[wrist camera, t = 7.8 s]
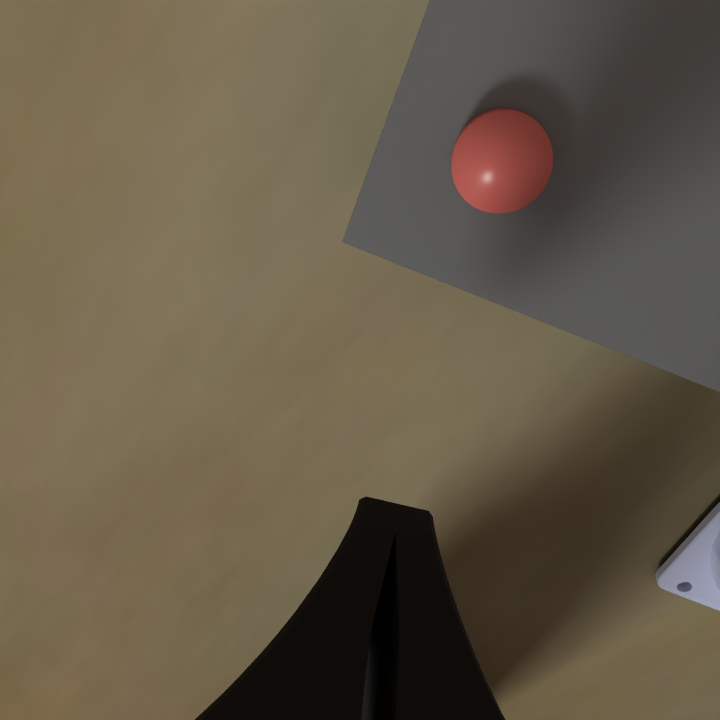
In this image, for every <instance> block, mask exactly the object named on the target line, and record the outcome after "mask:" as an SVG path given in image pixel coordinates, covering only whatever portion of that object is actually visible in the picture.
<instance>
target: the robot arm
mask: <svg viewBox="0 0 720 720" xmlns="http://www.w3.org/2000/svg"><path fill="white" fill-rule="evenodd" d="M655 577H656V581H657V584H658V585H659V587H660V588H662V589H664V590H666V591H669V592H671V593H674V594H677V595H679V596H682V597H685V598H687V599H690V600H692V601H695V602H698V603H700V604H703V605H706V606H708V607H711V608H714V609H716V610H719V611H720V502H719V503H718V504H717V505H716V506H715V507H714V508H713V510H712V511H711V512H710V513H709V514H708V515H707V516H706V517H705V518H704V520H703V521H702V522H701V523H700V524H699V525H698V526H697V527H696V528H695V529H694V531H693V532H692V533H691V534H690V535H689V536H688V537H687V538H686V539H685V540H684V542H683V543H682V544H681V545H680V546H679V547H678V548H677V549H676V550H675V552H674V553H673V554H672V555H671V556H670V557H669V558H668V559H667V560H666V561H665V563H664V564H663V565H662V566H661V567H660V568H659V569H658V570H657V572H656V574H655ZM682 582H686V583H682ZM680 583H682V584H680ZM363 696H364V700H363ZM362 705H363V715H362V720H505V718H504V716H503V714H502V713H501V711H500V709H499V706H498V704H497V702H496V700H495V698H494V696H493V694H492V692H491V690H490V688H489V686H488V684H487V682H486V679H485V677H484V675H483V673H482V670H481V668H480V666H479V664H478V661H477V659H476V657H475V654H474V652H473V649H472V647H471V644H470V642H469V639H468V637H467V634H466V632H465V629H464V626H463V624H462V621H461V618H460V616H459V613H458V610H457V607H456V604H455V601H454V598H453V595H452V592H451V589H450V586H449V583H448V580H447V576H446V573H445V570H444V566H443V562H442V559H441V555H440V551H439V547H438V543H437V538H436V533H435V528H434V523H433V517H432V515H431V514H430V512H429V511H426V510H422V509H418V508H413V507H409V506H405V505H400V504H396V503H392V502H387V501H383V500H379V499H374V498H370V497H364V498H362V499H360V500H359V503H358V507H357V510H356V513H355V515H354V518H353V520H352V522H351V525H350V527H349V529H348V531H347V533H346V535H345V537H344V538H343V540H342V542H341V544H340V546H339V548H338V549H337V551H336V553H335V554H334V556H333V557H332V559H331V561H330V562H329V564H328V566H327V567H326V569H325V570H324V572H323V574H322V575H321V577H320V578H319V580H318V581H317V583H316V584H315V585H314V587H313V588H312V589H311V591H310V592H309V594H308V595H307V596H306V598H305V599H304V601H303V602H302V603H301V605H300V606H299V607H298V609H297V610H296V612H295V613H294V614H293V615H292V617H291V618H290V619H289V620H288V622H287V623H286V624H285V625H284V627H283V628H282V629H281V630H280V632H279V633H278V634H277V635H276V636H275V638H274V639H273V640H272V641H271V642H270V643H269V645H268V646H267V647H266V648H265V649H264V650H263V651H262V653H261V654H260V655H259V656H258V657H257V658H256V659H255V660H254V661H253V662H252V663H251V665H250V666H249V667H248V668H247V669H246V670H245V671H244V672H243V673H242V674H241V675H240V676H239V677H238V679H237V680H236V681H235V682H234V683H233V684H232V685H231V686H230V687H229V688H228V689H227V690H226V691H225V692H224V693H223V694H222V695H221V696H220V697H219V698H218V699H216V700H215V701H214V702H213V703H212V704H211V705H210V706H209V707H208V708H207V709H206V710H205V711H204V712H203V713H201V714H200V715H199V716H198V717H197V718H196V719H195V720H361V714H362Z"/></svg>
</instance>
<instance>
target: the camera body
mask: <svg viewBox="0 0 720 720" xmlns="http://www.w3.org/2000/svg"><path fill="white" fill-rule="evenodd" d="M342 242H344V243H346V244H349V245H351V246H354V247H356V248H359V249H361V250H364V251H366V252H369V253H371V254H374V255H376V256H379V257H381V258H384V259H386V260H389V261H391V262H394V263H396V264H399V265H401V266H404V267H406V268H409V269H411V270H414V271H416V272H419V273H421V274H424V275H427V276H429V277H432V278H434V279H437V280H439V281H442V282H444V283H447V284H449V285H452V286H454V287H457V288H459V289H462V290H464V291H467V292H469V293H472V294H474V295H477V296H479V297H482V298H484V299H487V300H489V301H492V302H494V303H497V304H499V305H502V306H504V307H507V308H509V309H512V310H514V311H517V312H519V313H522V314H524V315H527V316H529V317H532V318H534V319H537V320H539V321H542V322H544V323H547V324H549V325H552V326H554V327H557V328H559V329H562V330H565V331H567V332H570V333H572V334H575V335H577V336H580V337H582V338H585V339H587V340H590V341H592V342H595V343H597V344H600V345H602V346H605V347H607V348H610V349H612V350H615V351H617V352H620V353H622V354H625V355H627V356H630V357H632V358H635V359H637V360H640V361H642V362H645V363H647V364H650V365H652V366H655V367H657V368H660V369H662V370H665V371H667V372H670V373H672V374H675V375H677V376H680V377H682V378H685V379H687V380H690V381H692V382H695V383H697V384H700V385H703V386H705V387H708V388H710V389H713V390H715V391H718V392H720V0H430V1H429V4H428V7H427V10H426V12H425V15H424V18H423V21H422V23H421V26H420V29H419V32H418V34H417V37H416V40H415V43H414V45H413V48H412V51H411V54H410V56H409V59H408V62H407V65H406V67H405V70H404V73H403V76H402V78H401V81H400V84H399V87H398V89H397V92H396V95H395V98H394V100H393V103H392V106H391V109H390V111H389V114H388V117H387V120H386V122H385V125H384V128H383V131H382V133H381V136H380V139H379V142H378V144H377V147H376V150H375V153H374V155H373V158H372V161H371V164H370V166H369V169H368V172H367V175H366V177H365V180H364V183H363V186H362V188H361V191H360V194H359V197H358V199H357V202H356V205H355V208H354V210H353V213H352V216H351V219H350V221H349V224H348V227H347V230H346V232H345V235H344V238H343V241H342Z"/></svg>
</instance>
